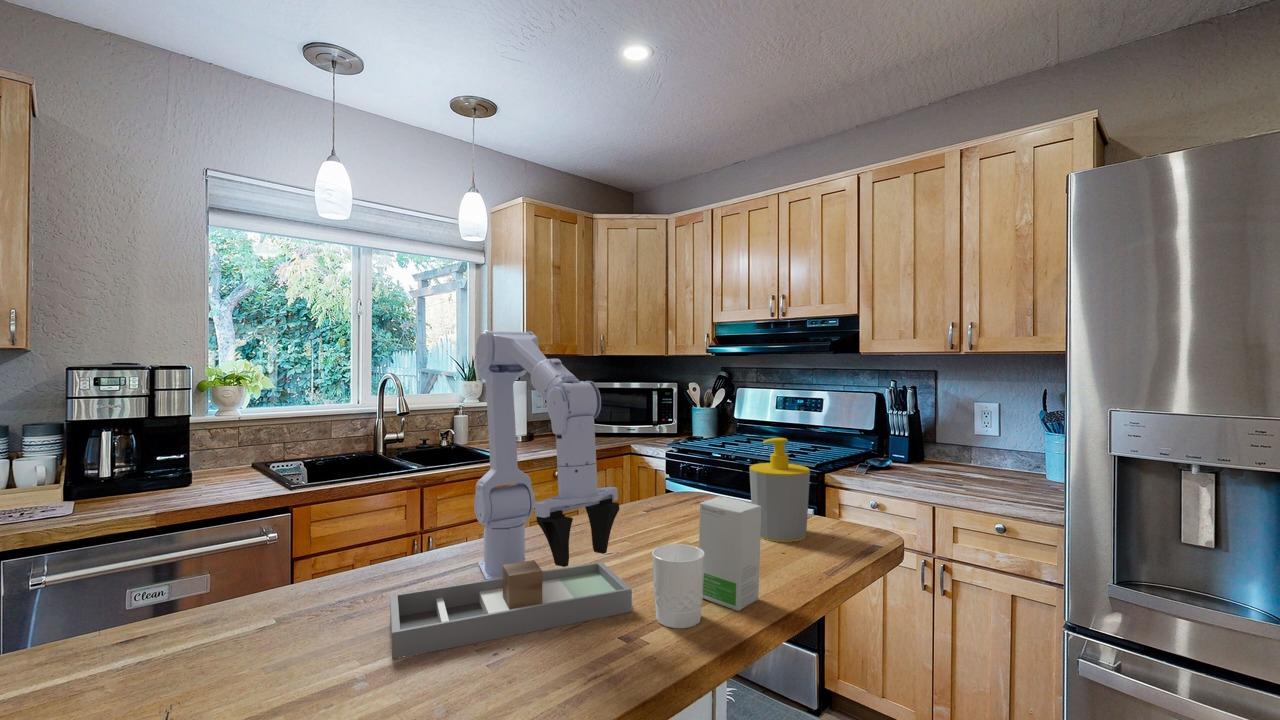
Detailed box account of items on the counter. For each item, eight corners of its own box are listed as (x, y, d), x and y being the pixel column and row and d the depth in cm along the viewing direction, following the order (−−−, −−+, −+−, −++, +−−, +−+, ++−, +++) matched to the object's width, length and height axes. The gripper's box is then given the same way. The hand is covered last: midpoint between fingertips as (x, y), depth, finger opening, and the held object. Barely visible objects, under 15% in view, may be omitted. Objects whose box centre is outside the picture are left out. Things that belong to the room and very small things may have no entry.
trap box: (390, 618, 87) (390, 595, 87) (602, 581, 101) (602, 561, 101) (392, 659, 75) (392, 632, 75) (631, 611, 89) (631, 589, 89)
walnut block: (502, 596, 90) (502, 564, 90) (534, 591, 92) (534, 560, 92) (509, 609, 85) (509, 575, 85) (542, 603, 87) (542, 570, 87)
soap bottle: (742, 526, 134) (742, 435, 134) (796, 524, 135) (796, 434, 135) (760, 544, 121) (760, 443, 121) (819, 542, 122) (819, 442, 122)
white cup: (702, 633, 82) (702, 563, 82) (647, 628, 84) (647, 559, 84) (706, 609, 90) (706, 545, 90) (657, 605, 91) (656, 542, 91)
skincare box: (696, 597, 94) (696, 502, 94) (719, 585, 99) (719, 495, 99) (740, 612, 89) (740, 511, 89) (762, 599, 94) (762, 503, 94)
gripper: (556, 471, 76) (561, 576, 75) (630, 459, 87) (635, 550, 86) (523, 469, 81) (528, 568, 80) (597, 458, 92) (602, 544, 91)
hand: (581, 558), depth 84 cm, fingers open, 7 cm apart
